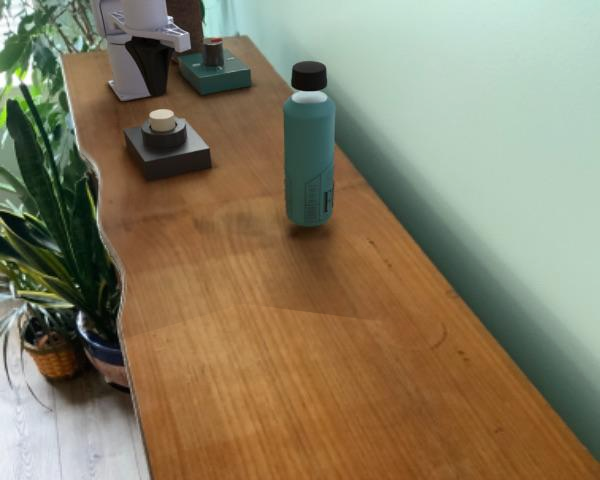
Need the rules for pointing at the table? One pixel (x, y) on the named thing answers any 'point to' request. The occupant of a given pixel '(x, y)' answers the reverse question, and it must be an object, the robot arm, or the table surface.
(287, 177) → the beverage bottle
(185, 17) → the dark brown tall block
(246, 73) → the dial panel
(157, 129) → the push button
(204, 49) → the knob
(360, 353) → the table surface
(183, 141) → the button base
